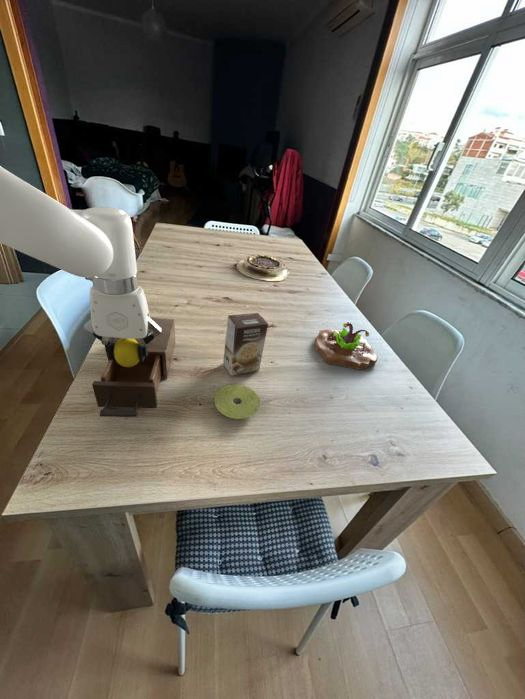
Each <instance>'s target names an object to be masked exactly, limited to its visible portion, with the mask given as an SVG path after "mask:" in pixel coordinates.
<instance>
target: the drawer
mask: <svg viewBox="0 0 525 699" xmlns="http://www.w3.org/2000/svg"><path fill="white" fill-rule="evenodd" d="M162 370H163V362H162V355H152V354H148V355H147V356H145V358H144V361H143V362H140V361H139V362H138V363H137V364H136V365H134V366H132V367H124V366H121V365H120V364H118V363H117V361H116V360H115V357H114V359H113V360H109V362H108V361H107V363H106V365H105V368H104V370H103V371H102V373H101V376H100V380H94V381H93V382H92V384H91V387H92V390H93V394H94V398H95V401H96V404H97V407H98V408H102V409H100V410H99V417H101V418H102V417H103V418H104V417H105V418H110V417H111V418H138V413H139V412H138V409H157V408H158V404H159V403H158V395H157V394H158V390H159V385H160V382H161V379H162V378H161V374H162ZM108 408H127V409H108ZM128 408H129V409H128ZM130 408H131V409H130Z"/></svg>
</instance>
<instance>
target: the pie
mask: <svg viewBox="0 0 525 699" xmlns="http://www.w3.org/2000/svg"><path fill="white" fill-rule="evenodd" d="M236 269H237V270H238V271H239V273H241V274H243V275H245V276H247V277H249V278H252V279H255V280H261V281H266V282H278V281H279V282H280V281H284V280H286V279H288V278H287V276H289V275H290V274H291V273H292V270H291V269H289V268H288V267H287V264H286V262H284V260H282V259H280V258H277V257H275V256H273V255H267V254H265V255H264V254H253V253H251V254H249V255H247V256H245V257H244V259H242V260H240V261H238V263H237V264H236Z"/></svg>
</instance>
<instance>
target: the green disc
mask: <svg viewBox="0 0 525 699" xmlns="http://www.w3.org/2000/svg"><path fill="white" fill-rule="evenodd" d="M213 401H214V406H215V408H216V410H217V411H218V412H219V413H221V414H222V415H223V416H225V417H227V418H230V419H235V420H241V419H247V418H249V417H252V416H253V415H255V414H256V413H257V412H258V410H259V409H260V406H261V400H260V397H259V395H258V394H257V393H256V392H255V391H254V389H252V388H251V387H248V386H246V385H242V384H230V385H226V386H223V387H222V388H220V389H219V390H217V392H216V394H215V395H214V399H213Z"/></svg>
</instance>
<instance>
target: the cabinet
mask: <svg viewBox="0 0 525 699" xmlns="http://www.w3.org/2000/svg"><path fill="white" fill-rule="evenodd" d="M150 319H152V320H153V321H154V322H155V323H156V324H157V325H158V326H159V327H160V328H161V329H162V332H161V334H160V335H159V336H157V337H156V338H154V339H153V340H152V341H151V342H150V343H148V344H147V346H148V354H152V355H162V362H163V370H162V374H161V378H160V379H168V377H169V373H170V369H171V364H172V360H173V355H174V353H175V352H174V351H175V347H176V324H175V322H176V320H175V318H165V317H151V316H150ZM150 332H152V330H151V329H150V328H148V333H150ZM148 333H147V334H148ZM114 339H115V343H116V342H117V341H118V340H119V339H121V338H115V337H114ZM135 340H136V341H137V339H135ZM137 342H138V341H137ZM138 344H139V342H138ZM106 358H107V359H106V360H107V363H108V362H109V356H108V354H106Z"/></svg>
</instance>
